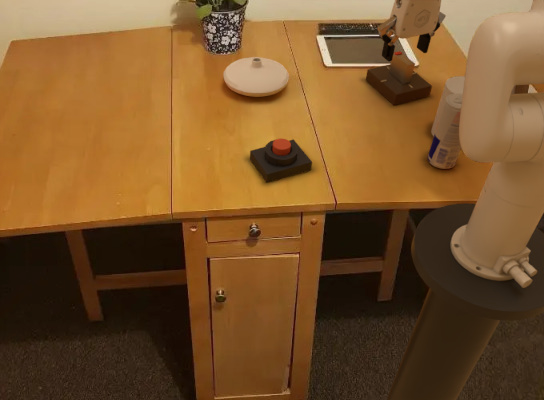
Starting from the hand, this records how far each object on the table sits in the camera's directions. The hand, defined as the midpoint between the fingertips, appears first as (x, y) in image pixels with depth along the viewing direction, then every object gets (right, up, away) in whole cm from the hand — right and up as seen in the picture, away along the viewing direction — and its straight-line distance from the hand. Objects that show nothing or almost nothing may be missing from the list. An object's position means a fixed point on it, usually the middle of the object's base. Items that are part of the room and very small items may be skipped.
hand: (404, 54), depth 134 cm
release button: (-30, -24, -18) cm, 42 cm away
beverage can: (+3, -26, -14) cm, 30 cm away
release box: (-30, -26, -15) cm, 43 cm away
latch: (0, -4, +4) cm, 6 cm away
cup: (+8, -19, -7) cm, 22 cm away
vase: (-34, -6, +7) cm, 35 cm away
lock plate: (0, -7, +6) cm, 9 cm away
